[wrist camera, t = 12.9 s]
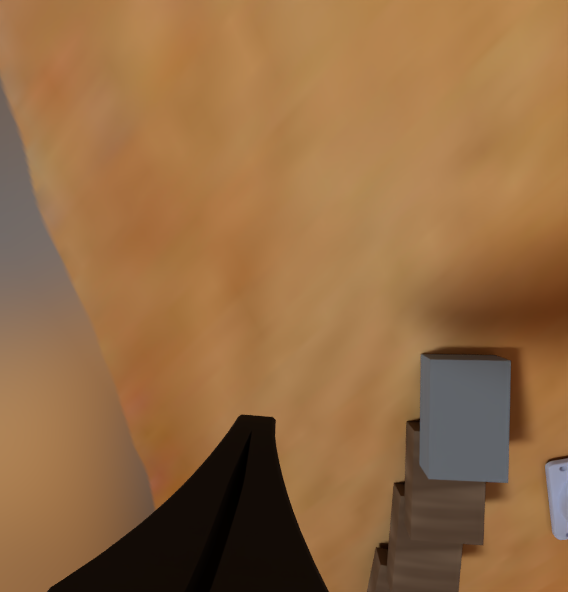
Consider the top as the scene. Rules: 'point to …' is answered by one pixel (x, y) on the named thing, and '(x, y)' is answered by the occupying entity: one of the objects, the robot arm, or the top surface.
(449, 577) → the domino
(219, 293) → the top surface
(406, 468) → the domino
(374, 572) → the domino
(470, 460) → the domino
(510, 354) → the top surface
